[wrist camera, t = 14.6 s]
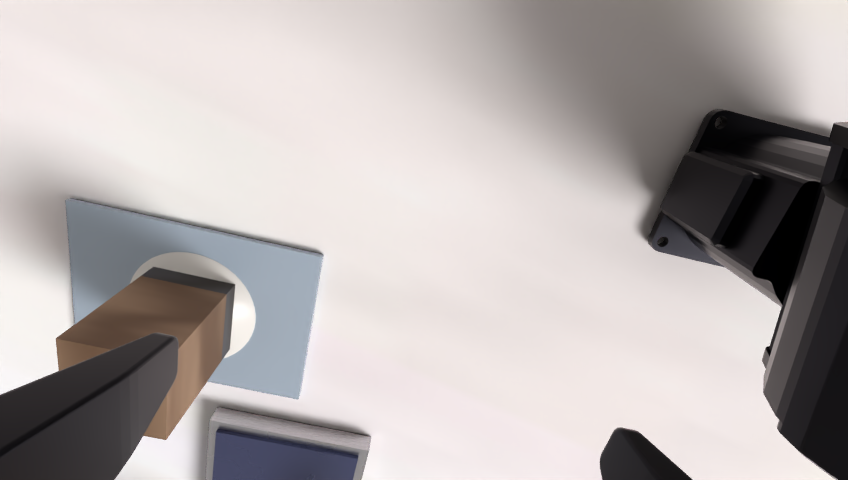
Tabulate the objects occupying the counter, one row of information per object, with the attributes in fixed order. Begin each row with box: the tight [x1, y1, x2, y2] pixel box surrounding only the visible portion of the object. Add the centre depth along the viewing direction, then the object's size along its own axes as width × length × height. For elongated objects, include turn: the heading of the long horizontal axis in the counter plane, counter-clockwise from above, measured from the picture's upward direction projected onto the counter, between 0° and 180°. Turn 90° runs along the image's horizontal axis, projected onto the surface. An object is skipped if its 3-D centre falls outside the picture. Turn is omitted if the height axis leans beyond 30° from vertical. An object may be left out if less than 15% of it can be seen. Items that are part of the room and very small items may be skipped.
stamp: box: [56, 267, 235, 440], centre depth 20 cm, size 4×4×6 cm
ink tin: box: [205, 407, 371, 480], centre depth 26 cm, size 9×7×1 cm
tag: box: [66, 198, 323, 399], centre depth 22 cm, size 12×9×1 cm
